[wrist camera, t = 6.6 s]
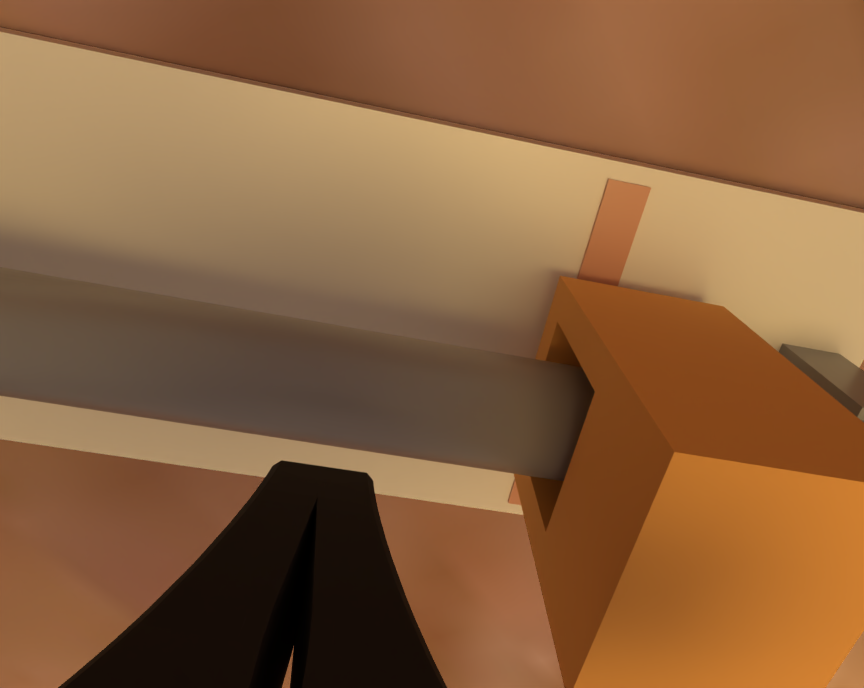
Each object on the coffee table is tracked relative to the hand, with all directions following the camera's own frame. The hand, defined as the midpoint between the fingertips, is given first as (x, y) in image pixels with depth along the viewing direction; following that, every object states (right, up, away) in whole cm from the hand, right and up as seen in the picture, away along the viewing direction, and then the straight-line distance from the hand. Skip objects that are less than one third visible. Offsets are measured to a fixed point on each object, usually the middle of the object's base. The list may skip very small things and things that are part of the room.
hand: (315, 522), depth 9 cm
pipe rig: (-1, +4, +7) cm, 8 cm away
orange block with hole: (+6, +2, +6) cm, 9 cm away
